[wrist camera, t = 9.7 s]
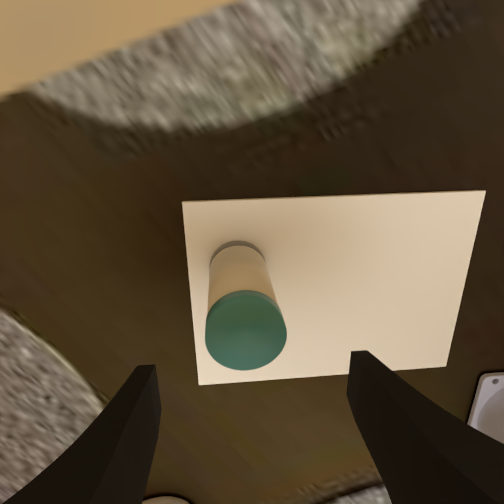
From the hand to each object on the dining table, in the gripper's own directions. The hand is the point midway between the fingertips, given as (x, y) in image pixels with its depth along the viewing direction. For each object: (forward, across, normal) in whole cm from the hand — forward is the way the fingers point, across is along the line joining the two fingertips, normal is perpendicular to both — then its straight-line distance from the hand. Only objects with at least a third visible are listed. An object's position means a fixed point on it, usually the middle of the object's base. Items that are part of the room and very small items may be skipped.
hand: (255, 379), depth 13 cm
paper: (+10, -6, +2) cm, 12 cm away
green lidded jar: (+10, 0, 0) cm, 10 cm away
